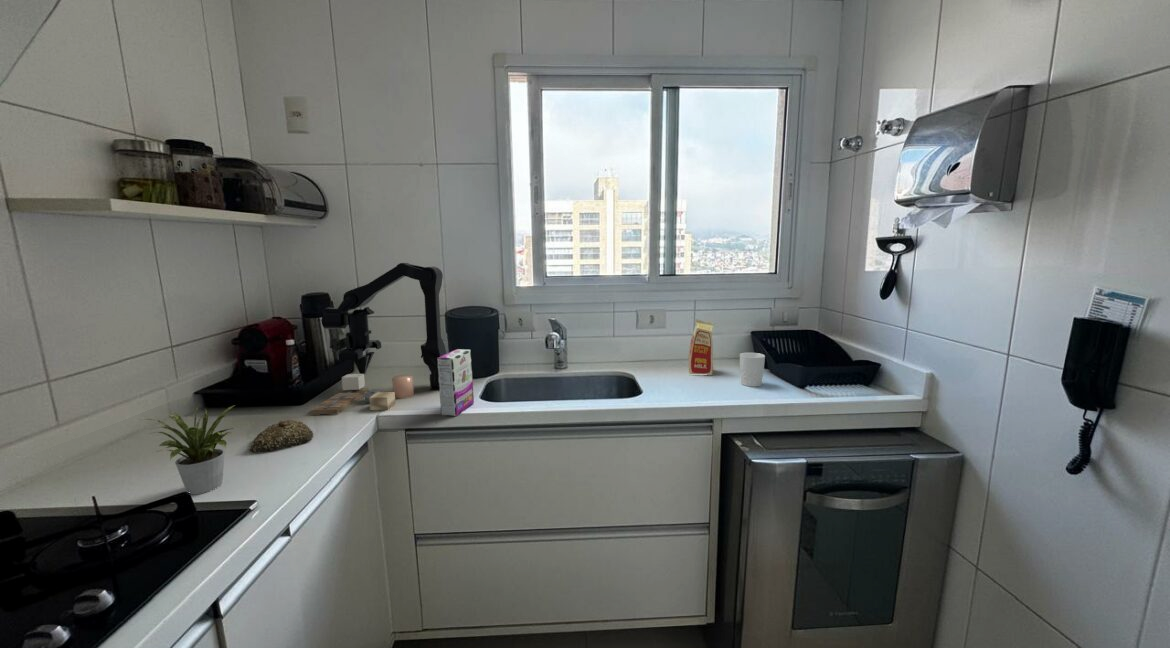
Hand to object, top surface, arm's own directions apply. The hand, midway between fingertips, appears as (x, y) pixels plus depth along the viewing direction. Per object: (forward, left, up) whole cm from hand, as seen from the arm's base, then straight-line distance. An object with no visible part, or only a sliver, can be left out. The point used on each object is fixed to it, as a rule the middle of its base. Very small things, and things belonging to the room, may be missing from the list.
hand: (362, 375), depth 147 cm
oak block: (-14, +20, -5) cm, 25 cm away
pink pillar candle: (-16, +9, -5) cm, 19 cm away
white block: (0, +7, -2) cm, 7 cm away
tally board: (0, +15, -4) cm, 15 cm away
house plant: (+3, +65, -5) cm, 65 cm away
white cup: (-129, +4, -5) cm, 129 cm away
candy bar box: (-36, +23, -5) cm, 43 cm away
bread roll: (+1, +42, -5) cm, 42 cm away
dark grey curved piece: (-9, +14, -5) cm, 17 cm away
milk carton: (-117, -12, -5) cm, 118 cm away
